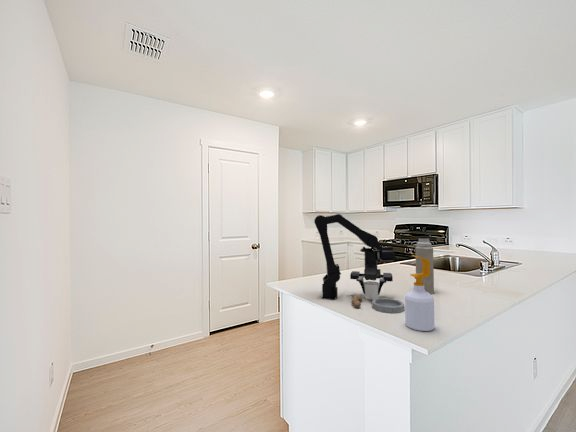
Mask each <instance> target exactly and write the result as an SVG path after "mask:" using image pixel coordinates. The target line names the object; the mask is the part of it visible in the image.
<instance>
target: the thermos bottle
mask: <svg viewBox="0 0 576 432" xmlns="http://www.w3.org/2000/svg"><path fill="white" fill-rule="evenodd" d="M432 246H433V245H432V243H431V241H430V236H427V235H420V236H418V242H416V246H415V250H414V251H415V256H418V257H422V258H425V259H428V260H429V261H430V276H429V277H423V279H422V283H424V290H425V291H426V292H428V293H429V294H431V295H433V294H434V293H435V279H434V278H435V276H434V273H435V271H434V247H432ZM420 273H422V260H421V259H420V258H417V257H415V274H420Z"/></svg>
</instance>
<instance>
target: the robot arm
mask: <svg viewBox="0 0 576 432" xmlns="http://www.w3.org/2000/svg"><path fill="white" fill-rule="evenodd" d="M313 220H314V222H313V223H314V225H315V228H316V229H317V232H318V234H319V237H320V240H321V245H322V249H323V254H324V258H325V263H326V264H325V265H326V274H325V275H324V276H323V277H322V281H323V283H322V284H321V286H322V287H321V289H322V290H321V292H322V293H321V295H322V296H321V299H324V300H325V299H327V300H336V299H337V298H338V296H339V295H338V294H339V292H338V287H337V283H338V282H339V281H340V279H341V275H342V273H341V270H340V265H339V263H336V262H335V259H334V256H333V251H332V247H331V243H330V239H329V238H330V237H329V236H328V235H329V234H328V225H331V224H335V223H337V224H339V225H340V226H341V227H343V228H345V229H346V230H348V231H349V232H350V233H351V234H354V235H355V236H356V237H357V238H358V239H359V241H361V242H362V243H363V244H364V245H365V246H367V247H365V246H362V247H361V248H360V250H359V251H360V252H361V253H364V270H363V273H361V272H360V271H359V270H358V271H356V270H355V271H354V270H353V271H351V273H350V275H349V276H350V278H349V279H350V280H356V282H358V283H359V285H360V288H361V290H362V292H363V295H365V290H364V282H365V281H372V282H376V280H377V279H379V282H378V283H379V289H378V296H380V294H381V291H382V288H383V285H384V284H386V283H387V282H393V280H394V279H393V274H392V273H391V272H382V271H381V269H380V268H379V269H378V260H380V262H394V261H395V260H396V259H395V258H396V255H395V250H394V247H393V246H382V245H381V244H380V243H379V239H378V237H377V236H376V235H375V234H372V233H370V232H368V231H365V230H363V229H361V228H360V227H358V226H357V225H356V224H354V223H353V222H351V221H350V220H348V219H347V218H345V216H343V215H342V214H340V213H337V214H334V215H327V216H324V215H317V216H316V217H315V218H314V219H313ZM373 248H374V249H373ZM381 272H382V273H383V274H381ZM364 280H365V281H364Z"/></svg>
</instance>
